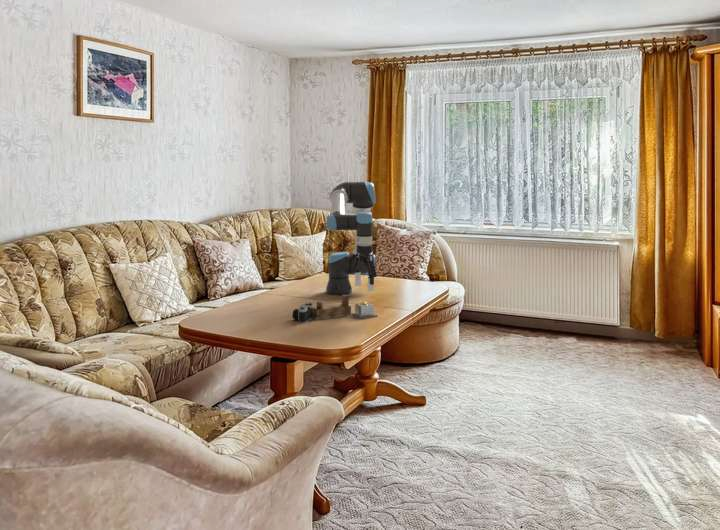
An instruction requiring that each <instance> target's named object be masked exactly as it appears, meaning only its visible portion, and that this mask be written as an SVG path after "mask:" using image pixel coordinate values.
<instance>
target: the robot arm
mask: <svg viewBox="0 0 720 530" xmlns="http://www.w3.org/2000/svg"><path fill="white" fill-rule="evenodd" d="M376 198H377V197H376V191H375V185H374V183H373V182H369V181H352V182H351V181H344V182H341V183H339V184H338V185H336V186H335V187H334V188H333V189H332V191H331V192H330V196H329V200H330V202H331V208H330V210H331V211H330V214H328V215H326V229H327V230H328V231H354V234H355V235H354V238H355V239H354V244H355V245H354V246H355V249H354V250H353V251H352V254H350V253H349V251H340V252H339V251H338V252H333V253H332V254H331V253H330V255H329V256H328V262H327V263H328V281H327V283H326V284H327V285H326V288H325V293H326V294H328V295H333V296H334V295H335V296H336V295H338V296H340V295H341V296H342V295H348V294H351V293H352V292H353V288H352V285H351V281H350V276H351V275H354V276H355V277H354V279H355V280H354V286H355V287H360V286H361V284H362V282H361V281H362V275H364V276H366V275H368V277H367V285H368V286H367V292H374V291H375V285H374V284H375V278H377V271H376V267H375V264H376V255H375V254H374V252H373V245H372V244H373V220H374V219H373V214H372V213H373V212H371V211H372V209H373V207H374V204H377V201H376V200H377V199H376ZM347 204H352V208H354V209H355V210H354V211H355V212H354V213H355V214H347Z"/></svg>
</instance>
